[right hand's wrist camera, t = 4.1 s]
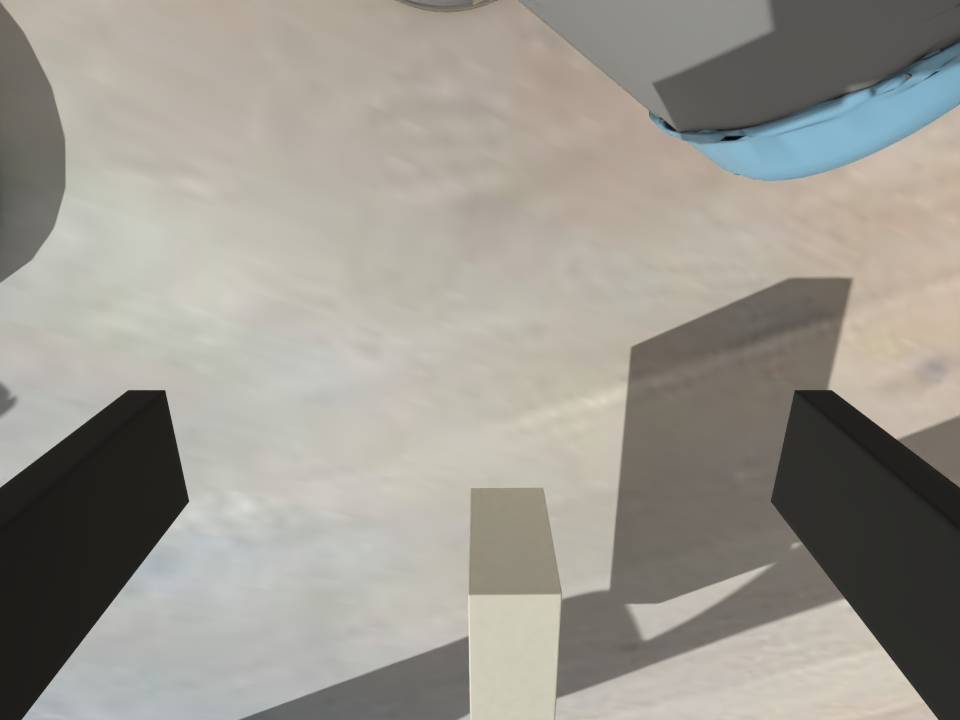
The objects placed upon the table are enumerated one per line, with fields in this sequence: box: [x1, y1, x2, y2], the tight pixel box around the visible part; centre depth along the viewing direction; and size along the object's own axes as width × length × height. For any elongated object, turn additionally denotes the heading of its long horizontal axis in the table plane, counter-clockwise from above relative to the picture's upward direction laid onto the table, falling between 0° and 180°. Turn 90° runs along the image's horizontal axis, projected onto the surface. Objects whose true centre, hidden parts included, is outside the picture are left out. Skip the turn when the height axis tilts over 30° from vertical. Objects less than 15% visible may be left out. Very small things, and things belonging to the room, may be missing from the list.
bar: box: [468, 488, 562, 720], centre depth 36 cm, size 24×4×9 cm, turn 0°
